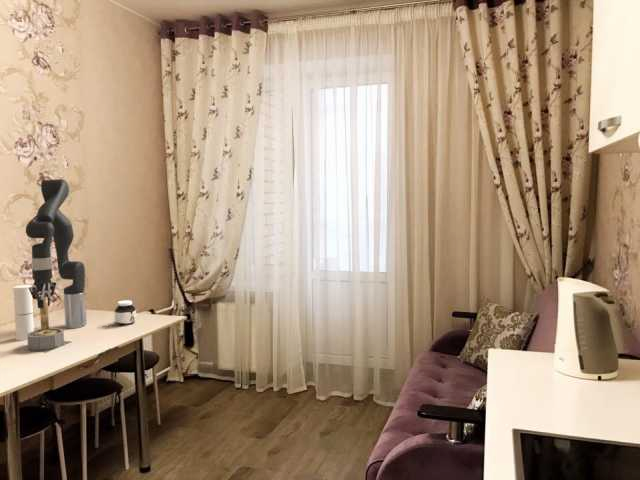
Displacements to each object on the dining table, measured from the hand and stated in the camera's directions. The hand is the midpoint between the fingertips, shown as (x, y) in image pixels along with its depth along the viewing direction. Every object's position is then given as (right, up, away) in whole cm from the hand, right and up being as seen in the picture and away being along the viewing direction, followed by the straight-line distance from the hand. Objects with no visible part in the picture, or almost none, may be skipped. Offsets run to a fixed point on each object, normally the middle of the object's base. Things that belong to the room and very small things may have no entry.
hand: (43, 307), depth 216 cm
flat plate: (0, -18, +2) cm, 18 cm away
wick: (0, -10, +1) cm, 10 cm away
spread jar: (+18, -14, +44) cm, 49 cm away
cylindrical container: (-16, -17, +13) cm, 27 cm away
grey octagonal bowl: (0, -17, +2) cm, 17 cm away
